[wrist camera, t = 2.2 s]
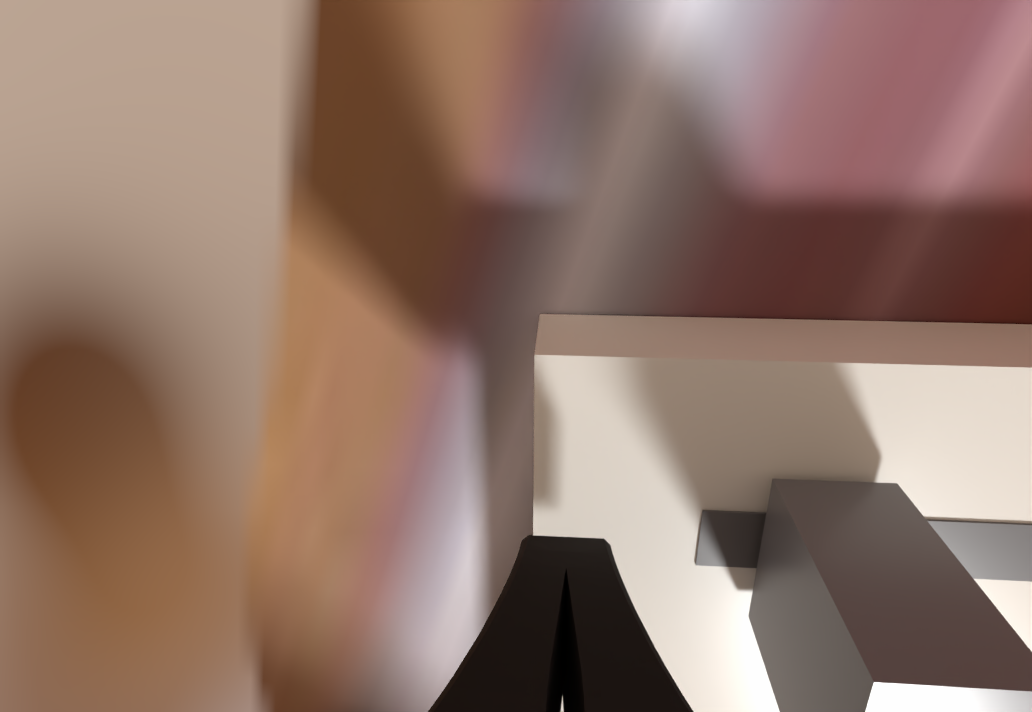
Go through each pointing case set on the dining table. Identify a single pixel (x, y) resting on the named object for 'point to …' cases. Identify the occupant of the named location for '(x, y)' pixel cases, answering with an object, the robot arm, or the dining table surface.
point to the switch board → (773, 458)
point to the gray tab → (875, 609)
